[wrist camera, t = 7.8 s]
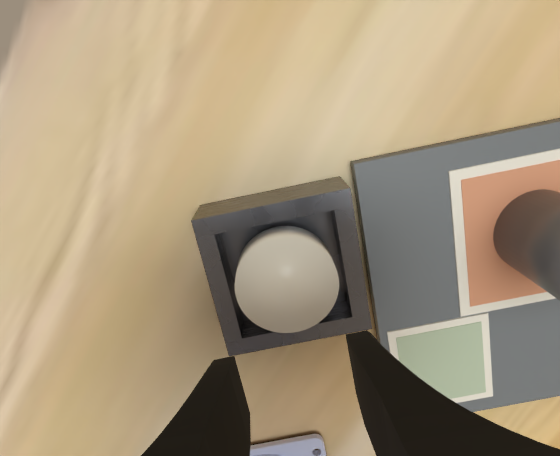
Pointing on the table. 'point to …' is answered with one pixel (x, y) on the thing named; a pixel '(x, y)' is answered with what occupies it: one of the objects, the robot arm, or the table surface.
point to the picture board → (461, 265)
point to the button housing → (272, 213)
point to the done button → (286, 280)
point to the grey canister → (532, 237)
